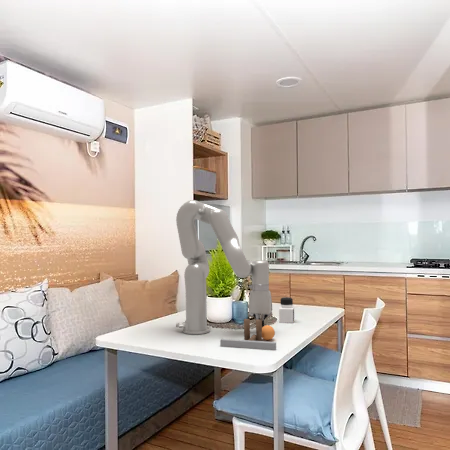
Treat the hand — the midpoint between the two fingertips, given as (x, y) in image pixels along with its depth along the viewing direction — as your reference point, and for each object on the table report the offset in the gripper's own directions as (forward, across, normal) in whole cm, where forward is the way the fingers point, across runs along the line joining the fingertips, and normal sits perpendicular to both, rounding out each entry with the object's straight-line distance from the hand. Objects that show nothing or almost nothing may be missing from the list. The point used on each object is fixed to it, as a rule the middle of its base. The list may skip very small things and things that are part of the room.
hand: (260, 328), depth 187 cm
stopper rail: (+2, 0, -25) cm, 25 cm away
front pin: (+1, 0, -14) cm, 14 cm away
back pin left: (+2, -2, -16) cm, 16 cm away
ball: (-1, +6, -12) cm, 13 cm away
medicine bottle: (+2, +8, +26) cm, 27 cm away
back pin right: (+2, +3, -16) cm, 17 cm away
